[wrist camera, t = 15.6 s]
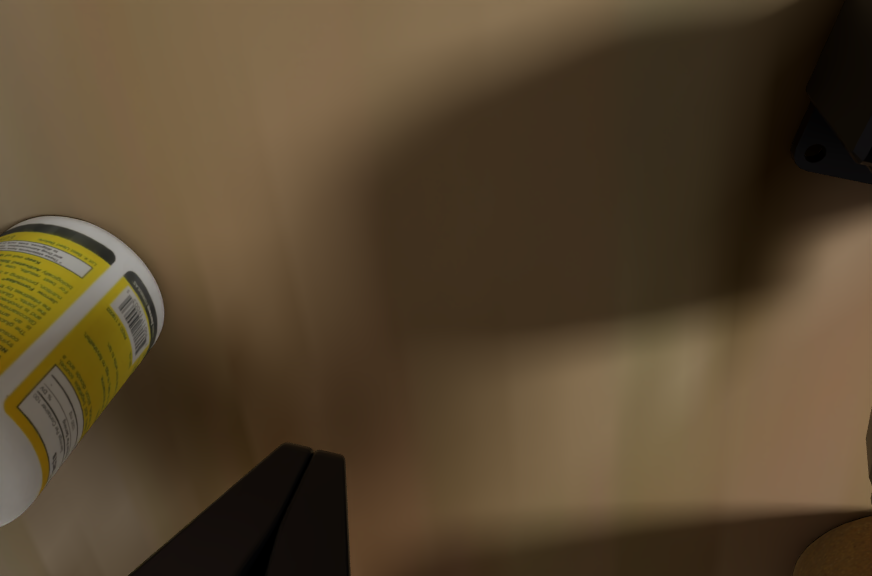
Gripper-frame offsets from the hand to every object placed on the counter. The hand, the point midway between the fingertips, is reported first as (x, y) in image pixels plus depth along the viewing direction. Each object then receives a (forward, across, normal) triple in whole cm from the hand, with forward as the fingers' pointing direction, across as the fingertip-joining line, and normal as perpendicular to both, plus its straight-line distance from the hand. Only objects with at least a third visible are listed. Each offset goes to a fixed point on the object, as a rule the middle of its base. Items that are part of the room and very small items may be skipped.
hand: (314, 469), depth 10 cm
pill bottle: (+13, +12, +9) cm, 20 cm away
